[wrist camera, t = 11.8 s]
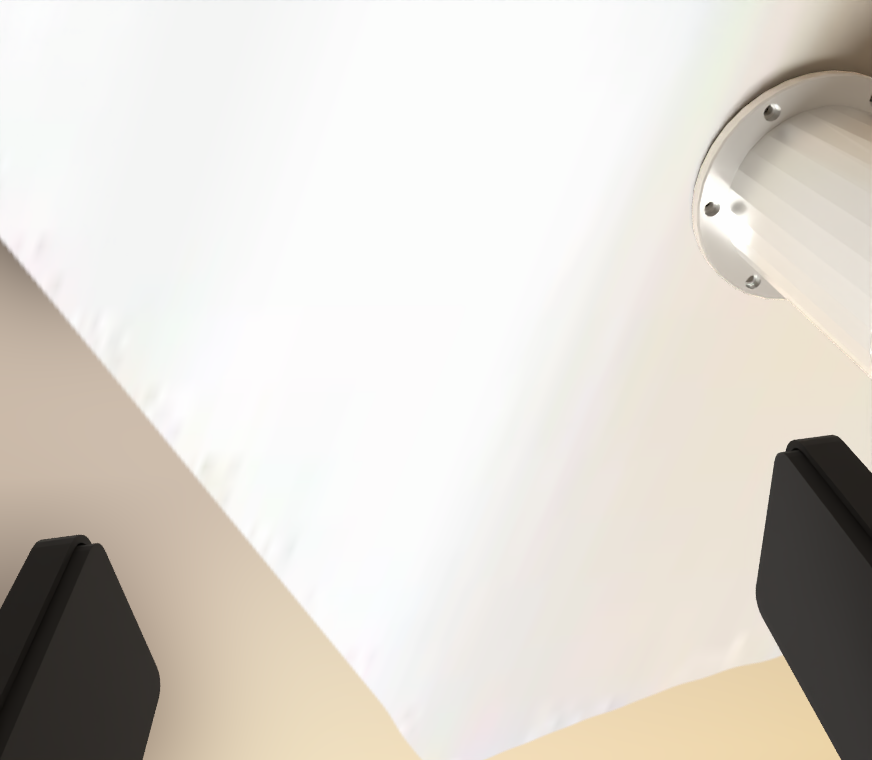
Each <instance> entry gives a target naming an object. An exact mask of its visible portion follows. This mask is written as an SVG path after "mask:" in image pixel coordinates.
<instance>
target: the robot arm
mask: <svg viewBox="0 0 872 760" xmlns="http://www.w3.org/2000/svg"><path fill="white" fill-rule="evenodd" d="M871 95H872V77H870V76H867V75H863V74H860V73H856V72H849V71H837V70H830V71H822V72H814V73H808V74H805V75H802V76H799V77H796V78H793V79H790V80H787V81H785V82H783V83H781V84H779V85H777V86H775V87H773V88H771V89H769V90H768V91H766V92H764V93H762V94H761V95H760V96H758V97H757V98H756V99H754V100H753V101H752V102H750V103H749V104H748V105H746V106H745V107H744V108H743V109H742V110H741V111H740V112H739V113H738V114H737V115H736V116H735V117H734V118H733V119H732V120H731V121H730V122H729V123H728V124H727V125H726V126H725V128H724V129H723V130H722V132H721V133H720V135H719V136H718V137H717V139H716V140H715V142H714V143H713V144H712V146H711V148H710V150H709V152H708V154H707V156H706V158H705V160H704V162H703V164H702V166H701V168H700V171H699V175H698V178H697V181H696V185H695V188H694V194H693V203H692V220H693V231H694V234H695V237H696V240H697V244H698V247H699V249H700V251H701V253H702V254H703V256H704V258H705V259H706V261H707V263H708V264H709V265H710V266H711V267H712V268H713V270H714V271H715V272H716V273H717V274H718V275H719V276H720V277H721V278H722V279H724V280H725V281H726V282H727V283H728V284H730V285H731V286H732V287H734V288H736V289H738V290H739V291H741V292H743V293H745V294H748V295H752V296H756V297H760V298H764V299H774V300H788V301H789V302H790V303H791V304H792V305H793V306H794V307H795V308H796V309H797V310H799V311H800V312H801V313H802V314H803V315H804V316H805V317H806V318H807V319H808V320H809V321H810V322H811V323H812V324H813V325H814V326H816V327H817V328H818V329H819V330H820V331H821V332H822V333H823V334H824V335H825V336H826V337H827V338H828V339H829V340H830V341H832V342H833V343H834V344H835V345H836V346H837V347H838V348H839V349H840V350H841V351H842V352H843V353H844V354H845V355H846V356H847V357H849V358H850V359H851V360H852V361H853V362H854V363H855V364H856V365H857V366H858V367H859V368H860V369H861V370H862V371H863V372H865V373H866V374H867V375H868V376H869V377H870V378H871V379H872V97H871ZM768 106H769V109H768V111H767V112H766V113H764V111H765V109H766V108H767V107H768ZM709 202H710V205H709V206H708V207H705V206H706V205H707V204H708V203H709ZM756 600H757V604H758V608H759V611H760V613H761V615H762V618H763V619H764V621H765V623H766V625H767V627H768V628H769V630H770V632H771V634H772V636H773V637H774V639H775V641H776V643H777V645H778V646H779V648H780V650H781V652H782V654H783V655H784V657H785V659H786V661H787V663H788V664H789V666H790V668H791V670H792V672H793V673H794V675H795V677H796V679H797V680H798V682H799V684H800V686H801V688H802V690H803V691H804V693H805V695H806V697H807V699H808V701H809V702H810V704H811V706H812V708H813V709H814V711H815V713H816V715H817V717H818V718H819V720H820V722H821V724H822V726H823V728H824V729H825V731H826V733H827V735H828V736H829V738H830V740H831V742H832V744H833V746H834V747H835V749H836V751H837V753H838V754H839V756H840V758H841V760H872V473H871V472H870V471H869V470H868V469H867V467H866V466H865V465H864V464H863V463H862V462H861V461H860V460H859V458H858V457H857V456H856V455H855V454H854V453H853V452H852V451H851V449H850V448H849V447H848V446H847V445H846V444H845V443H844V442H843V440H841V439H840V438H839V437H838V436H835V435H828V436H820V437H813V438H805V439H798V440H793V441H790V443H789V444H788V445H787V448H786V452H781V453H778V454H777V456H776V458H775V461H774V468H773V475H772V482H771V489H770V495H769V502H768V509H767V516H766V523H765V529H764V536H763V543H762V550H761V557H760V564H759V570H758V577H757V584H756ZM159 694H160V677H159V672H158V669H157V666H156V664H155V662H154V660H153V657H152V655H151V653H150V650H149V648H148V646H147V644H146V641H145V639H144V637H143V635H142V632H141V630H140V628H139V626H138V624H137V621H136V619H135V617H134V615H133V612H132V610H131V608H130V606H129V603H128V601H127V599H126V597H125V594H124V592H123V590H122V588H121V586H120V583H119V581H118V579H117V576H116V574H115V572H114V570H113V567H112V565H111V563H110V561H109V559H108V556H107V554H106V552H105V550H104V548H103V547H102V545H100V544H99V543H95V544H91V542H90V540H89V539H88V538H87V537H86V536H84V535H74V536H66V537H59V538H51V539H44V540H40V541H38V542H36V544H35V545H34V547H33V548H32V549H31V551H30V553H29V555H28V557H27V559H26V561H25V563H24V565H23V567H22V569H21V570H20V572H19V574H18V576H17V578H16V580H15V582H14V584H13V586H12V588H11V590H10V592H9V593H8V595H7V597H6V599H5V601H4V603H3V605H2V607H1V609H0V760H143V756H144V752H145V748H146V744H147V741H148V737H149V733H150V729H151V725H152V721H153V717H154V714H155V710H156V706H157V703H158V699H159Z"/></svg>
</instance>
